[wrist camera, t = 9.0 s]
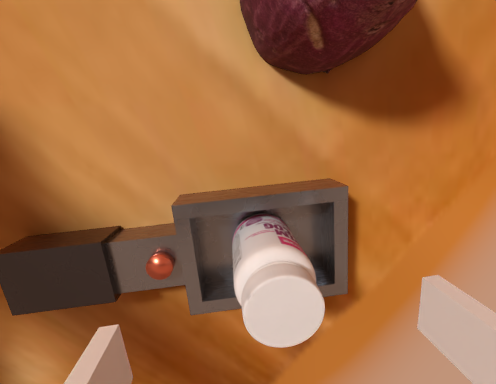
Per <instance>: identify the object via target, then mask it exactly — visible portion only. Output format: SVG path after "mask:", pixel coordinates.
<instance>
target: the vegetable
mask: <svg viewBox="0 0 496 384" xmlns="http://www.w3.org/2000/svg"><path fill="white" fill-rule="evenodd" d="M416 1H417V0H240V5H241V11H242V14H243V17H244V20H245V23H246V26H247V29H248V32H249V34H250V37H251V39H252V42H253V44H254V46H255V48H256V50H257V51H258V53H259V54H260V56H261V57H262V58H263V59H264V60H265V61H266V62H268V63H269V64H271V65H273V66H276V67H279V68H282V69H285V70H289V71H293V72H297V73H300V74H311V73H315V72H316V73H317V72H321V71H323V72H326V73H329V72H330V70H331V69H333V68H334V67H337V66H339V65H341V64H343V63H345V62H347V61H349V60H351V59H353V58H355V57H357V56H358V55H360V54H362V53H363V52H365V51H367V50H368V49H370V48H371V47H372V46H374V45H375V44H376V43H377V42H379V41H380V40H381V39H382V38H383V37H384V36H385V35H386V34H387V33H388V32H390V31H391V30H392V29H393V28H394V27H395V26H396V25H397V24H398V23H399V21H400V20H401V19H402V18H403V17H404V15H406V14H407V13H408V12H409V11H410V10H411V9H412V8H413V6H414V5H415V3H416Z"/></svg>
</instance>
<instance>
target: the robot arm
mask: <svg viewBox="0 0 496 384" xmlns="http://www.w3.org/2000/svg"><path fill="white" fill-rule="evenodd" d="M418 317H419V318H418V326H417V329H418V330H419V331H420V332H421V333H422V334H423V335H425V336H426V337H427V339H429V341H430V342H432V344H433V345H435V347H437V348H438V350H440V352H441V353H442V354H444V356H445V357H447V359H448V360H450V362H451V363H452V364H454V366H455V367H457V369H458V370H459V371H461V373H462V374H463V375H464V376H465V377H466V378H467V379H468V380H469V381H470V382H471V383H472V384H496V313H495V312H493V311H492V310H491V309H489V308H487V307H486V306H485V305H483V304H481V303H480V302H478V301H477V300H475V299H474V298H472V297H471V296H469V295H468V294H466V293H465V292H463V291H462V290H460V289H459V288H457V287H455V286H454V285H453V284H451V283H450V282H448V281H447V280H445V279H444V278H442V277H441V276H439V275H436V276H429V277H422V286H421V296H420V306H419V316H418ZM132 379H133V375H132V371H131V367H130V364H129V360H128V356H127V352H126V349H125V345H124V341H123V338H122V334H121V330H120V327H119V324H117V325H111V326H104V327H99V328H98V330H97V331H96V333H95V335H94V336H93V338H92V339H91V341H90V343H89V344H88V346H87V347H86V349H85V351H84V352H83V354H82V355H81V357H80V359H79V360H78V362H77V363H76V365H75V367H74V368H73V370H72V371H71V373H70V375H69V376H68V378H67V379H66V381H65V383H64V384H131V382H132Z"/></svg>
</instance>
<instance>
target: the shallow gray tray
mask: <svg viewBox="0 0 496 384" xmlns="http://www.w3.org/2000/svg"><path fill="white" fill-rule="evenodd" d="M172 212H173V217H174V223H172V224H163V225H155V226H146V227H138V228H129V229H121V228H120V226H115V227H106V228H97V229H89V230H80V231H71V232H63V233H54V234H45V235H36V236H28V237H25V238H23V239H21V240H19V241H17V242H15V243H13V244H11V245H9V246H7V247H5V248H3V249H1V250H0V284H1V287H2V289H3V292H4V295H5V297H6V300H7V302H8V305H9V308H10V310H11V313H12V316H13V315H20V314H28V313H35V312H43V311H50V310H58V309H65V308H73V307H81V306H88V305H96V304H103V303H111V302H116V301H117V299H118V298H119V296H120V295H121V293H127V292H135V291H142V290H150V289H158V288H165V287H173V286H181V285H185V286H186V291H187V297H188V303H189V308H190V314H191V315H197V314H204V313H211V312H218V311H226V310H233V309H240V308H242V306H241V305H240V303H239V302H238V300H237V297H236V295H235V290H234V279H233V253H232V241H233V236H234V233H235V231H236V229H237V227H238V226H239V224H240V223H241V222H242V221H243V220H245V219H246V218H248V217H250V216H252V215H255V214H262V213H263V214H271V215H274V216H276V217H278V218H280V219H281V220H282V221H283V222H284V223H285V224H286V225H287V226H288V228H289V229H290V231H291V233H292V234H293V236H294V237H295V239H296V240H297V242H298V243H299V245H300V247H301V248H302V249H303V251H304V252H305V254H306V255H307V257H308V258H309V260H310V262H311V264H312V266H313V268H314V271H315V275H316V284H317V286H318V288H319V290H320V292H321V293H322V296H323V297H327V296H334V295H341V294H348V186H347V185H344V184H342V183H340V182H337V181H335V180H333V179H321V180H312V181H303V182H294V183H285V184H275V185H266V186H257V187H248V188H239V189H230V190H221V191H211V192H202V193H193V194H184V195H180V196H179V197H178V198H177V200H176V201H175V202H174V203H173V205H172Z"/></svg>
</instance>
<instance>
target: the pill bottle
mask: <svg viewBox="0 0 496 384" xmlns="http://www.w3.org/2000/svg"><path fill="white" fill-rule="evenodd" d="M232 253H233V279H234V290H235V295H236V297H237V300H238V302H239V303H240V305H241V306H242V314H243V320H244V324H245V327H246V329H247V330H248V332H249V333H250V335H251V336H252V337H253V338H254V339H256V340H257V341H259V342H260V343H262V344H264V345H267V346H271V347H290V346H294V345H297V344H300V343H302V342H304V341H306V340H307V339H308V338H310V337H311V336H312V335H313V334H314V333H315V332H316V331H317V329H318V328H319V327H320V325H321V323H322V321H323V318H324V313H325V303H324V299H323V296H322V293H321V292H320V290H319V288H318V286H317V284H316V275H315V271H314V268H313V266H312V264H311V262H310V260H309V258H308V257H307V255H306V254H305V252H304V251H303V249H302V248H301V247H300V245H299V243H298V242H297V240H296V239H295V237H294V236H293V234H292V233H291V231H290V229H289V228H288V226H287V225H286V224H285V223H284V222H283V221H282V220H281V219H280V218H278V217H276V216H274V215H271V214H263V213H262V214H255V215H252V216H250V217H248V218H246V219H245V220H243V221H242V222H241V223H240V224H239V226H238V227H237V229H236V231H235V233H234V236H233V241H232Z"/></svg>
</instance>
